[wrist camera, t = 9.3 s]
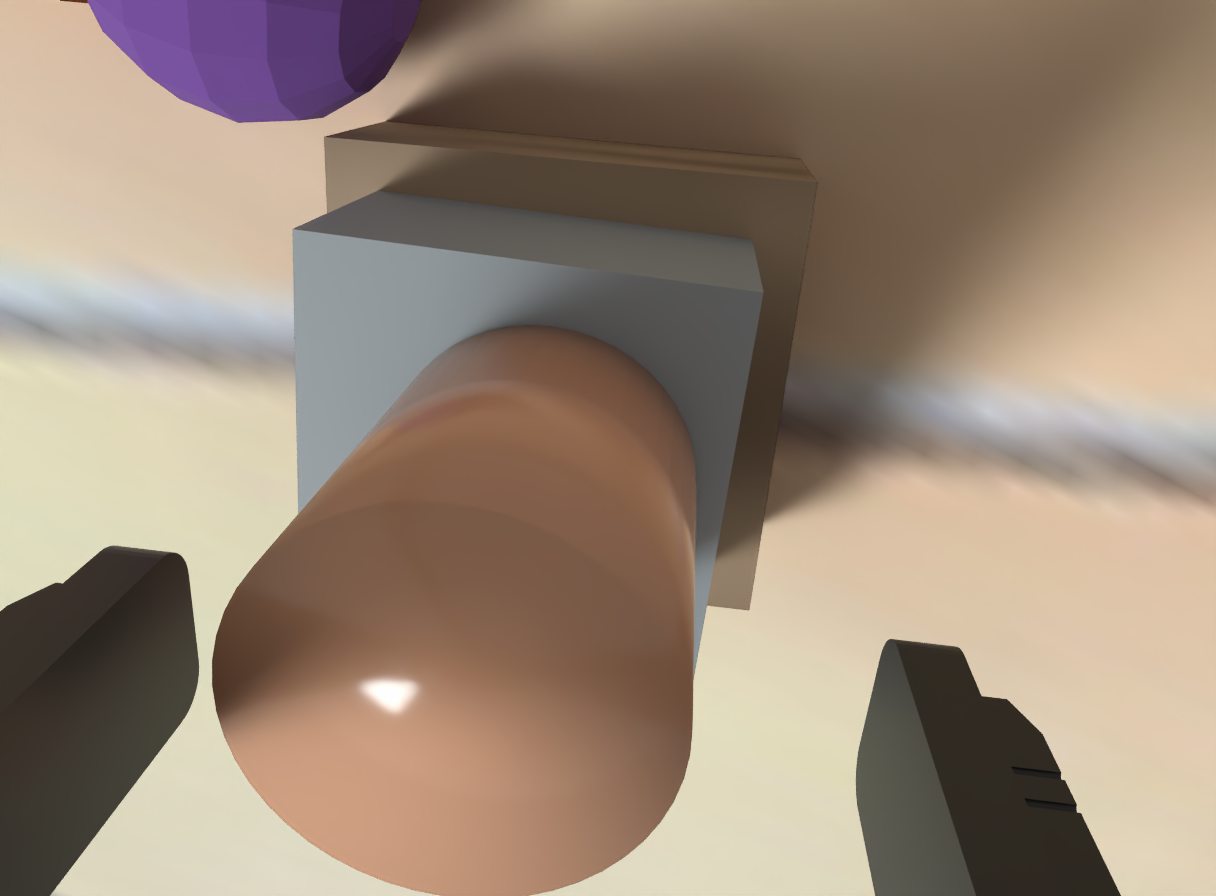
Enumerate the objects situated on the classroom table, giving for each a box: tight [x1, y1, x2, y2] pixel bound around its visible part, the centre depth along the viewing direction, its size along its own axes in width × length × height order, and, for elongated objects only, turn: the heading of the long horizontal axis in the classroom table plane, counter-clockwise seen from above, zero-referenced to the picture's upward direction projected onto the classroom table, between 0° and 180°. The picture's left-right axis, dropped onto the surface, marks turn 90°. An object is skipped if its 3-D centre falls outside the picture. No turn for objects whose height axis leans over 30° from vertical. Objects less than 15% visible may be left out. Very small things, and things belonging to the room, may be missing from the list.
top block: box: [292, 190, 764, 679], centre depth 17 cm, size 7×7×4 cm
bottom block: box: [324, 121, 818, 610], centre depth 21 cm, size 9×9×4 cm
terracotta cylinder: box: [212, 325, 697, 896], centre depth 13 cm, size 5×5×6 cm
